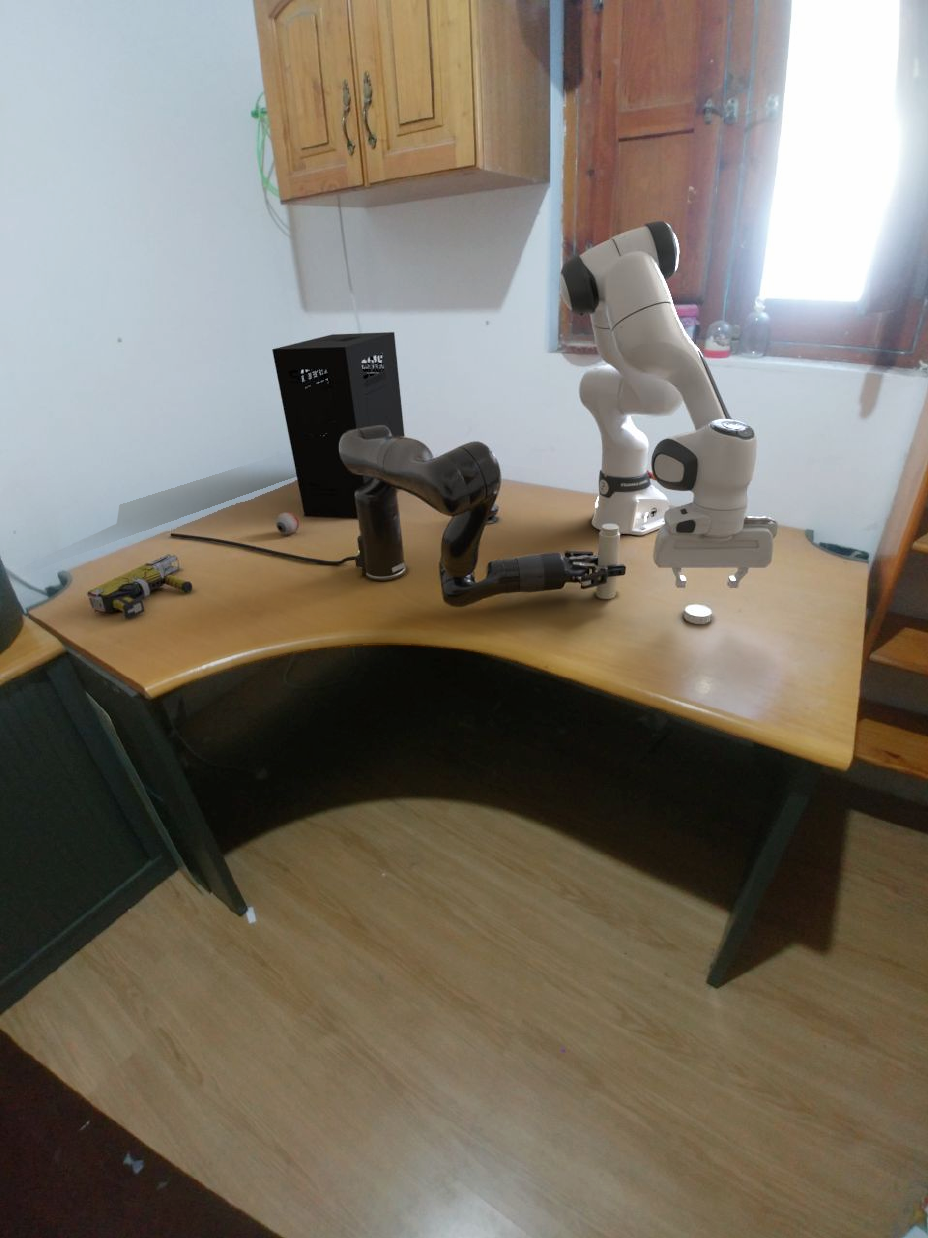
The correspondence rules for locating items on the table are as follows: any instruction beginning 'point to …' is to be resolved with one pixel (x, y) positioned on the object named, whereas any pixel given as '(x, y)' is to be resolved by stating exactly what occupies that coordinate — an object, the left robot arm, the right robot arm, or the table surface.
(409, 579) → the table surface
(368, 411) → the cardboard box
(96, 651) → the table surface
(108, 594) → the toy gun
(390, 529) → the left robot arm
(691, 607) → the lid
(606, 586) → the bottle
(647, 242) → the right robot arm
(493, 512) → the grey chess piece
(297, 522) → the eyeball
